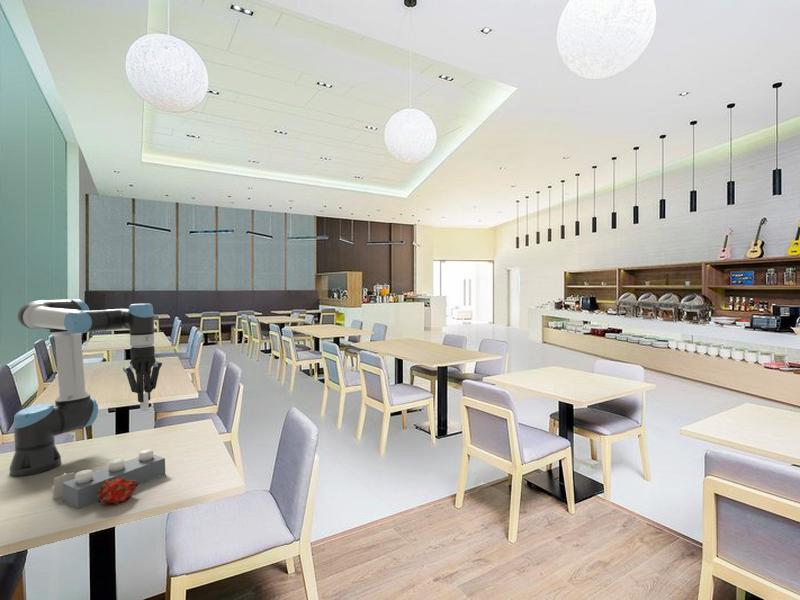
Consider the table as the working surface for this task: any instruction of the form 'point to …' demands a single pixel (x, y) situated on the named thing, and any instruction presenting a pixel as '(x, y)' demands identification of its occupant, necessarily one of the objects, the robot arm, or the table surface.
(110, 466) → the knob mid
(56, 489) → the architectural model
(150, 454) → the knob far
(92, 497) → the mount
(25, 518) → the table surface
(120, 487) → the dragon fruit
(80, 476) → the knob near
